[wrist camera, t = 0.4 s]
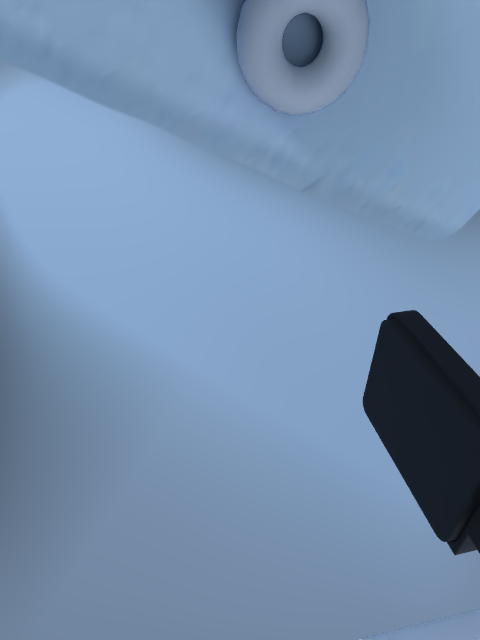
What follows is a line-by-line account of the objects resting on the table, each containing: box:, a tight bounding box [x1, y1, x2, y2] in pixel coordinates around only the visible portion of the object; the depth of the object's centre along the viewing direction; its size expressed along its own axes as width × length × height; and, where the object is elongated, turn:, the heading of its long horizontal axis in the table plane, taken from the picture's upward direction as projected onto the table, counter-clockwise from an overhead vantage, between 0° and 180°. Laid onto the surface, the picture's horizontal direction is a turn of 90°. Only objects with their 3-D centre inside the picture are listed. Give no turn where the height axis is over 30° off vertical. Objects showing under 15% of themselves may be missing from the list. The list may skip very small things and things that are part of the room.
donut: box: [236, 0, 369, 115], centre depth 31 cm, size 10×3×10 cm
